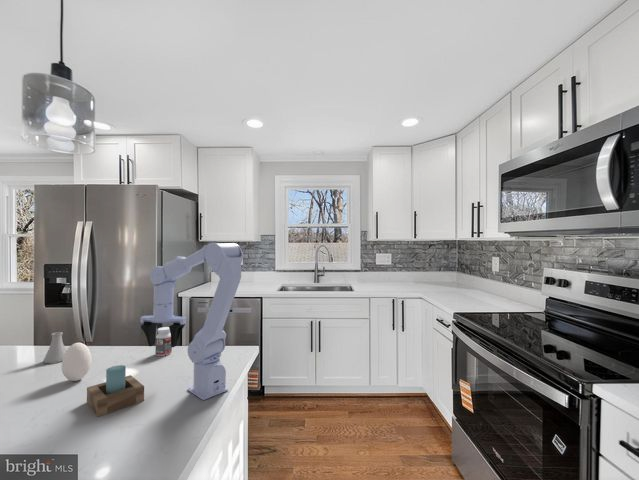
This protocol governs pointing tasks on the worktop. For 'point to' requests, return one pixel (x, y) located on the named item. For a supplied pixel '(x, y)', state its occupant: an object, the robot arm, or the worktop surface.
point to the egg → (76, 362)
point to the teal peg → (115, 379)
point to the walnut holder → (114, 396)
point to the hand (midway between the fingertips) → (163, 345)
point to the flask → (55, 349)
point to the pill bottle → (163, 342)
